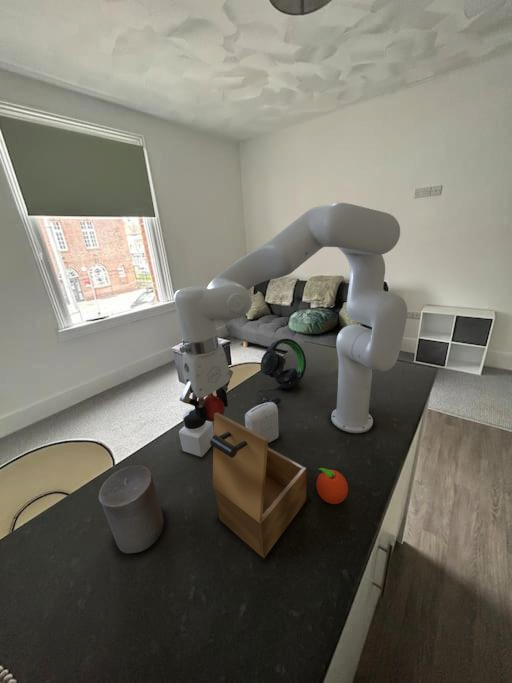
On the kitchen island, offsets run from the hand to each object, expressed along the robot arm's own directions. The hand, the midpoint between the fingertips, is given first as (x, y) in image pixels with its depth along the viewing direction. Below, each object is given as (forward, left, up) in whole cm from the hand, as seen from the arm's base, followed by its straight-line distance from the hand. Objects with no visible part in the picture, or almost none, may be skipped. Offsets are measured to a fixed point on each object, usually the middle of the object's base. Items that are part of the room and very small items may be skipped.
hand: (213, 410), depth 68 cm
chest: (+2, +17, -18) cm, 25 cm away
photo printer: (-15, +3, -18) cm, 24 cm away
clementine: (-10, +27, -18) cm, 34 cm away
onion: (0, 0, -3) cm, 3 cm away
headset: (-42, -8, -18) cm, 46 cm away
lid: (+8, +17, 0) cm, 19 cm away
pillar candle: (+22, -1, -18) cm, 29 cm away
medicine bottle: (-2, -11, -18) cm, 22 cm away
